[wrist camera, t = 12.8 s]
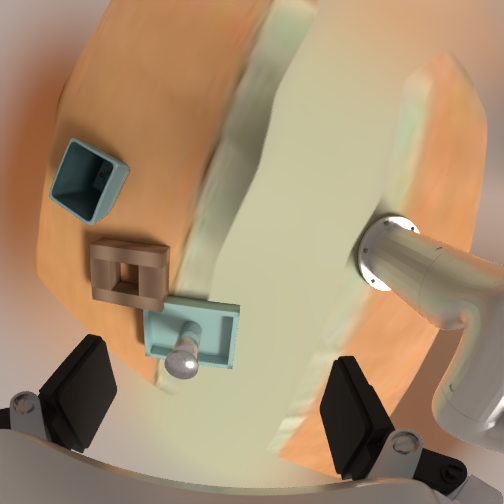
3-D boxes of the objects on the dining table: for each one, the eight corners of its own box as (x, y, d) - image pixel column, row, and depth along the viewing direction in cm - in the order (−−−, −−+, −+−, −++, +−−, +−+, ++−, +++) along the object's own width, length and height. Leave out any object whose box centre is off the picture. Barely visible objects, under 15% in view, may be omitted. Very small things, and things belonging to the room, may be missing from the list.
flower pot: (79, 191, 37) (46, 197, 28) (101, 142, 35) (70, 136, 27) (119, 217, 39) (91, 227, 30) (144, 165, 37) (119, 163, 28)
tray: (239, 304, 43) (239, 312, 40) (232, 359, 46) (232, 369, 43) (147, 292, 42) (142, 299, 39) (149, 347, 45) (145, 355, 42)
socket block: (170, 246, 40) (162, 254, 36) (168, 301, 42) (161, 312, 38) (101, 238, 39) (89, 244, 35) (103, 289, 41) (92, 299, 38)
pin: (206, 320, 43) (198, 356, 33) (204, 343, 44) (197, 381, 34) (178, 316, 42) (163, 350, 33) (178, 339, 44) (165, 376, 34)
